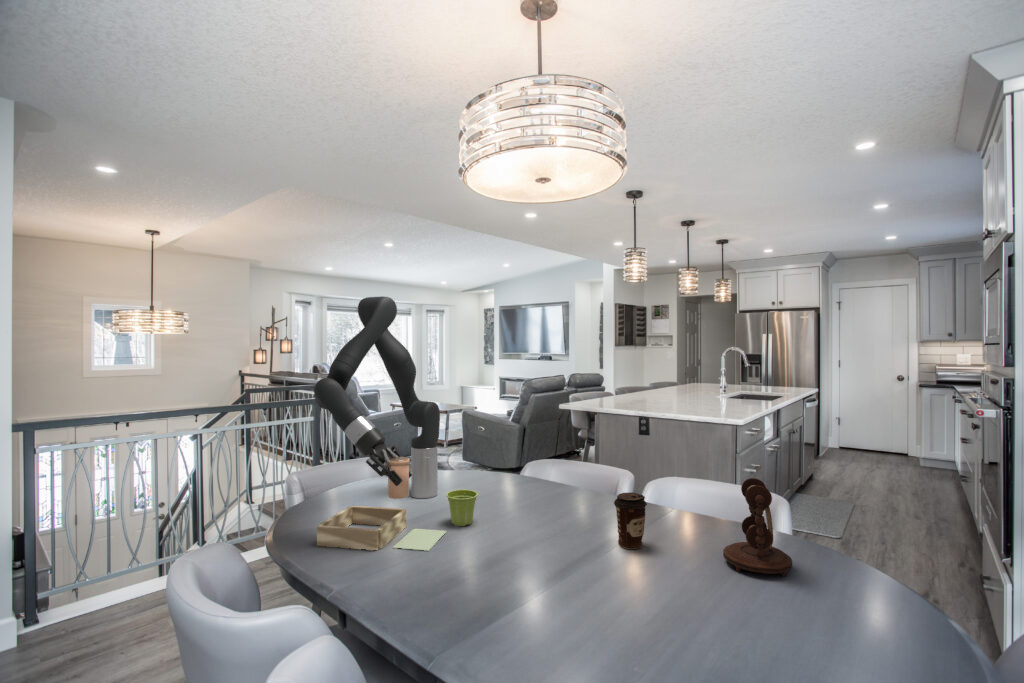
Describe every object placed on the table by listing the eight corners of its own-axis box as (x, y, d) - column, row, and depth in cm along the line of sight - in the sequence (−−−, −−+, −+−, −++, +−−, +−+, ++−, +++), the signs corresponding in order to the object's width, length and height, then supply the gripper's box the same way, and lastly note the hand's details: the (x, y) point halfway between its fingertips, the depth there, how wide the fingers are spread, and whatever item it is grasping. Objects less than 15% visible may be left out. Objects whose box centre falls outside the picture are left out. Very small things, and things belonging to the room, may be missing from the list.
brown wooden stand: (799, 583, 111) (798, 492, 112) (727, 575, 116) (725, 487, 116) (784, 557, 126) (783, 476, 126) (720, 550, 130) (719, 472, 130)
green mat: (413, 529, 146) (413, 528, 146) (446, 531, 144) (446, 530, 144) (392, 548, 133) (392, 547, 133) (428, 551, 131) (428, 550, 131)
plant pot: (480, 518, 156) (480, 489, 156) (475, 529, 147) (474, 499, 147) (450, 517, 157) (450, 489, 157) (443, 528, 147) (443, 498, 148)
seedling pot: (393, 491, 144) (393, 456, 144) (413, 493, 142) (413, 457, 142) (383, 498, 138) (383, 461, 138) (404, 499, 136) (403, 462, 136)
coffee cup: (654, 545, 134) (653, 495, 134) (638, 554, 128) (637, 502, 128) (624, 536, 140) (624, 489, 140) (608, 545, 134) (607, 496, 134)
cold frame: (350, 522, 153) (350, 505, 153) (408, 526, 149) (407, 509, 149) (314, 545, 135) (314, 526, 135) (378, 550, 131) (378, 531, 131)
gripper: (360, 430, 135) (402, 478, 132) (385, 422, 149) (424, 465, 146) (342, 450, 136) (383, 497, 133) (369, 440, 150) (407, 482, 147)
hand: (404, 480), depth 140 cm, fingers closed on seedling pot, 5 cm apart
